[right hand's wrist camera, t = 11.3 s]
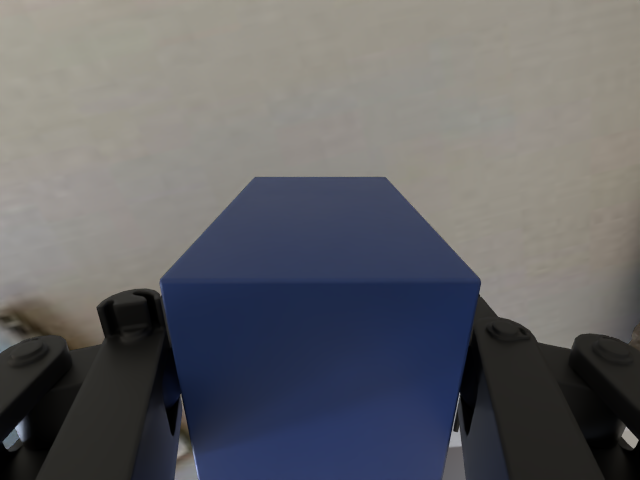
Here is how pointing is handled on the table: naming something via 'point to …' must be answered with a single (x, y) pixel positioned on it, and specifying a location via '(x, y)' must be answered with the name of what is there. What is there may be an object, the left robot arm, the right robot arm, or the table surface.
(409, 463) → the bar
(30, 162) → the table surface
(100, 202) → the table surface
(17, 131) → the table surface
